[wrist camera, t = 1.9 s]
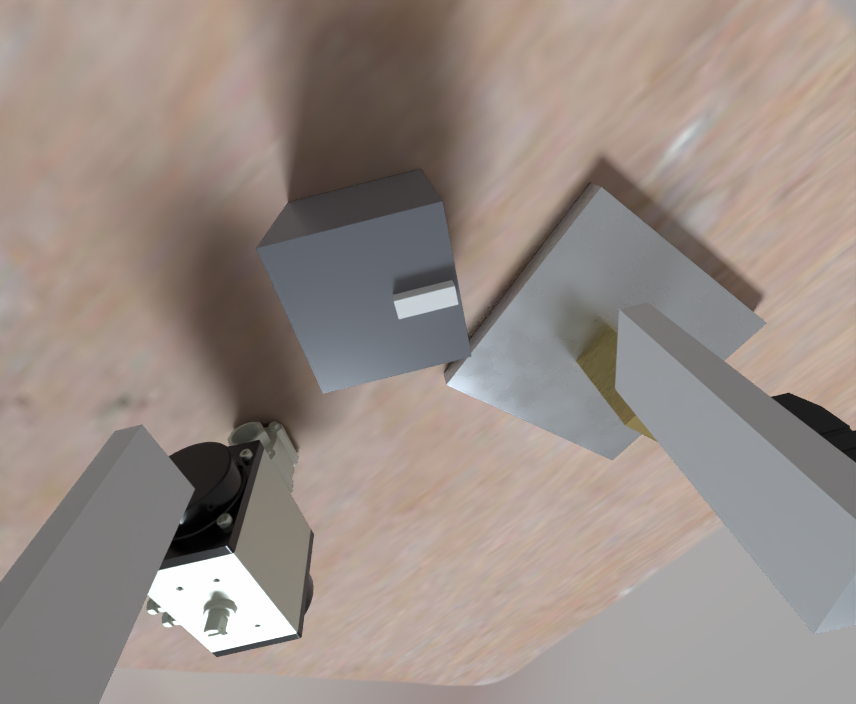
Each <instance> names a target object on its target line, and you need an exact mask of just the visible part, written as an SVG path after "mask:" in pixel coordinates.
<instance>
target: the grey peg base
mask: <svg viewBox="0 0 856 704" xmlns="http://www.w3.org/2000/svg"><path fill="white" fill-rule="evenodd" d="M646 302H648V303H649V304H651V305H652V306H653V307H655V308H656V309H657V310H658V311H660V312H661V313H662V314H664V315H665V316H666V317H668V318H669V319H670V320H671V321H673V322H674V323H675V324H677V325H678V326H679V327H681V328H682V329H683V330H684V331H686V332H687V333H688V334H690V335H691V336H692V337H693V338H695V339H696V340H697V341H699V342H700V343H701V344H703V345H704V346H705V347H706V348H708V349H709V350H710V351H712V352H713V353H714V354H715V355H717V356H718V357H719V358H721V359H722V360H723V361H725V360H726V359H727V358H728V357H729V356H730V355H731V354H732V353H734V352H735V351H736V350H737V349H738V348H739V347H740V346H741V345H743V344H744V343H745V342H746V341H747V340H748V339H749V338H750V337H752V336H753V335H754V334H755V333H756V332H757V331H758V330H759V329H761V328H762V327H763V326H764V325H765V324H766V322H765V321H764V320H762V319H761V318H760V317H759V316H758V315H756V314H755V313H754V312H753V311H752V310H750V309H749V308H748V307H747V306H745V305H744V304H743V303H742V302H741V301H739V300H738V299H737V298H736V297H735V296H733V295H732V294H731V293H730V292H728V291H727V290H726V289H725V288H724V287H722V286H721V285H720V284H719V283H718V282H716V281H715V280H714V279H713V278H711V277H710V276H709V275H708V274H707V273H705V272H704V271H703V270H702V269H701V268H699V267H698V266H697V265H696V264H694V263H693V262H692V261H691V260H690V259H688V258H687V257H686V256H685V255H684V254H682V253H681V252H680V251H679V250H677V249H676V248H675V247H674V246H673V245H671V244H670V243H669V242H668V241H667V240H665V239H664V238H663V237H662V236H661V235H659V234H658V233H657V232H656V231H654V230H653V229H652V228H651V227H650V226H648V225H647V224H646V223H645V222H644V221H642V220H641V219H640V218H639V217H637V216H636V215H635V214H634V213H633V212H631V211H630V210H629V209H628V208H627V207H625V206H624V205H623V204H622V203H620V202H619V201H618V200H617V199H616V198H614V197H613V196H612V195H611V194H610V193H608V192H607V191H606V190H605V189H603V188H602V187H601V186H598V185H596V184H594V183H591V182H590V184H589V185H588V186H587V188H586V189H585V190H584V192H583V193H582V194H581V195H580V197H579V198H578V199H577V201H576V202H575V203H574V205H573V206H572V207H571V209H570V210H569V211H568V212H567V214H566V215H565V216H564V218H563V219H562V220H561V222H560V223H559V224H558V225H557V227H556V228H555V229H554V231H553V232H552V233H551V235H550V236H549V237H548V238H547V240H546V241H545V242H544V244H543V245H542V246H541V248H540V249H539V250H538V252H537V253H536V254H535V255H534V257H533V258H532V259H531V261H530V262H529V263H528V265H527V266H526V267H525V268H524V270H523V271H522V272H521V274H520V275H519V276H518V278H517V279H516V280H515V281H514V283H513V284H512V285H511V287H510V288H509V289H508V291H507V292H506V293H505V295H504V296H503V297H502V298H501V300H500V301H499V302H498V304H497V305H496V306H495V308H494V309H493V310H492V311H491V313H490V314H489V315H488V317H487V318H486V319H485V321H484V322H483V323H482V324H481V326H480V327H479V328H478V330H477V331H476V332H475V334H474V335H473V336H472V338H471V339H470V340H469V345H470V350H471V356H472V357H468V358H464V359H460V360H456V361H453V362H452V364H451V365H450V366H449V367H448V369H447V370H446V371H445V373H444V378H445V381H446V385H448V386H450V387H452V388H454V389H457V390H459V391H461V392H463V393H465V394H468V395H470V396H472V397H474V398H476V399H479V400H481V401H483V402H485V403H487V404H490V405H492V406H494V407H496V408H498V409H501V410H503V411H505V412H507V413H509V414H512V415H514V416H516V417H518V418H520V419H523V420H525V421H527V422H529V423H531V424H534V425H536V426H538V427H540V428H542V429H545V430H547V431H549V432H551V433H553V434H556V435H558V436H560V437H562V438H564V439H567V440H569V441H571V442H573V443H575V444H578V445H580V446H582V447H584V448H586V449H589V450H591V451H593V452H595V453H597V454H600V455H602V456H604V457H606V458H608V459H611V460H614V459H615V458H616V457H617V456H618V455H619V454H620V453H621V452H622V451H624V450H625V449H626V448H627V447H628V446H629V445H630V444H631V443H633V442H634V441H635V440H636V439H637V438H638V437H639V436H640V435H642V434H643V435H645V436H647V437H649V438H651V439H653V440H655V441H657V440H656V439H655V438H654V437H653V435H652V434H651V433H650V432H649V430H648V429H647V428H646V427H645V425H644V424H643V423H642V422H641V421H640V419H639V418H638V417H637V416H636V414H635V413H634V412H633V411H632V409H631V408H630V407H629V406H628V404H627V403H626V402H625V401H624V400H623V398H622V397H621V396H620V395H619V393H618V392H617V391H616V390H615V379H616V359H617V340H618V320H619V309H621V308H625V307H630V306H634V305H638V304H642V303H646Z"/></svg>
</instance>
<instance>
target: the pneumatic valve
mask: <svg viewBox="0 0 856 704" xmlns="http://www.w3.org/2000/svg"><path fill="white" fill-rule="evenodd" d="M228 443H229V445H230V446H228V447H227V446H225V445H223V444H221V443H217V442H204V443H199V444H195V445H192V446H189V447H186V448H184V449H182V450H180V451H178V452H176V453H174V454H172V455H170V456H169V458H170V459H171V460H172V462H173V463H174V464H175V465H176V466H177V468H178V469H179V470H180V471H181V472H182V474H183V475H184V476H185V477H186V479H187V480H188V481H189V482H190V483H191V485H192V486H193V487H194V488H195V490H194V492H193V494H192V497H191V499H190V501H189V503H188V506H187V508H186V510H185V512H184V514H183V517H182V519H181V521H180V523H179V526H178V528H177V530H176V532H175V535H174V537H173V539H172V541H171V543H170V546H169V548H168V550H167V552H166V555H165V557H164V559H163V561H162V564H161V566H160V568H159V570H158V572H157V575H156V577H155V579H154V581H153V584H152V586H151V588H150V590H149V593H148V596H149V597H150V598H149V600H148V602H147V611H148V613H150V614H158V612H159V611H160V612H164V613H163V616H162V624H163V625H164V626H165V627H172V626H173V625H174V624H175V625H181V626H182V627H184V628H185V629H186V630H187V631H188V632H189V633H190V634H191V635H193V636H194V637H195V638H196V639H197V640H198V641H199V642H200V643H202V644H203V645H204V646H205V647H206V648H207V649H208V650H209V651H211V652H212V653H213V654H214V655H215V656H216V657H219V656H224V655H228V654H233V653H237V652H242V651H246V650H250V649H255V648H259V647H264V646H268V645H273V644H277V643H281V642H286V641H290V640H295V639H299V638H301V637H302V630H303V622H304V615H305V613H306V612H307V610H308V608H309V606H310V603H311V600H312V596H313V580H312V578H311V575H310V574H309V571H310V563H311V554H312V546H313V538H314V533H313V532H312V530H311V528H310V527H309V525H308V523H307V521H306V520H305V518H304V516H303V514H302V513H301V511H300V509H299V507H298V506H297V504H296V502H295V500H294V499H293V497H292V495H291V492H292V491H293V490H292V489H293V486H294V485H293V480H292V477H293V473H294V466H295V465H296V464H297V463H298V459H299V456H298V454H297V452H296V450H295V448H294V447H293V445H292V443H291V441H290V439H289V437H288V435H287V433H286V431H285V429H284V427H283V425H282V424H281V423H277V422H276V421H275V422H271V423H270V424H269V427H265V428H263V426H262V425H261V423H260V422H248V423H245V424H243V425H241V426H239V427H238V428H236V429H235V430H234V431H233V432H232V433H231V434H230V436H229V438H228Z"/></svg>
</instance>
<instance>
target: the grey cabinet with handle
mask: <svg viewBox="0 0 856 704" xmlns="http://www.w3.org/2000/svg"><path fill="white" fill-rule="evenodd" d="M256 250H257V252H258V254H259V256H260V259H261V261H262V263H263V265H264V267H265V269H266V272H267V274H268V276H269V278H270V280H271V282H272V285H273V287H274V289H275V291H276V293H277V295H278V297H279V300H280V302H281V304H282V306H283V308H284V310H285V313H286V315H287V317H288V319H289V321H290V323H291V326H292V328H293V330H294V332H295V334H296V336H297V339H298V341H299V343H300V345H301V347H302V349H303V352H304V354H305V356H306V358H307V360H308V362H309V365H310V367H311V369H312V371H313V373H314V375H315V378H316V380H317V382H318V384H319V386H320V388H321V391H322V393H327V392H332V391H336V390H340V389H344V388H348V387H352V386H356V385H360V384H364V383H368V382H372V381H376V380H380V379H384V378H388V377H392V376H396V375H400V374H404V373H408V372H412V371H416V370H420V369H424V368H428V367H432V366H436V365H440V364H444V363H448V362H452V361H456V360H460V359H464V358H468V357H472V356H471V350H470V345H469V340H468V334H467V329H466V324H465V318H464V313H463V307H462V302H461V297H460V291H459V286H458V281H457V275H456V270H455V264H454V259H453V254H452V248H451V243H450V238H449V232H448V227H447V222H446V216H445V211H444V205H443V201H442V199H441V198H440V196H439V195H438V193H437V192H436V191H435V189H434V188H433V186H432V185H431V183H430V182H429V180H428V179H427V177H426V176H425V174H424V173H423V171H422V170H421V169H418V170H414V171H410V172H406V173H402V174H398V175H394V176H391V177H387V178H383V179H379V180H375V181H371V182H367V183H363V184H359V185H355V186H351V187H347V188H343V189H339V190H335V191H332V192H328V193H324V194H320V195H316V196H312V197H308V198H304V199H300V200H296V201H292V202H288V203H287V204H286V206H285V207H284V209H283V210H282V212H281V213H280V215H279V216H278V217H277V219H276V220H275V222H274V223H273V225H272V226H271V228H270V229H269V230H268V232H267V233H266V235H265V236H264V238H263V239H262V241H261V242H260V243H259V245H258V246H257V248H256Z"/></svg>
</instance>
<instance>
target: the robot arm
mask: <svg viewBox="0 0 856 704" xmlns="http://www.w3.org/2000/svg"><path fill="white" fill-rule="evenodd" d="M615 390H616V391H617V392H618V393H619V395H620V396H621V397H622V398H623V400H624V401H625V402H626V403H627V404H628V406H629V407H630V408H631V409H632V411H633V412H634V413H635V414H636V416H637V417H638V418H639V419H640V421H641V422H642V423H643V424H644V425H645V427H646V428H647V429H648V430H649V432H650V433H651V434H652V435H653V437H654V438H655V439H656V440H657V442H658V443H659V444H660V445H661V446H662V448H663V449H664V450H665V451H666V453H667V454H668V455H669V456H670V458H671V459H672V460H673V461H674V463H675V464H676V465H677V466H678V467H679V469H680V470H681V471H682V472H683V474H684V475H685V476H686V477H687V479H688V480H689V481H690V482H691V484H692V485H693V486H694V487H695V488H696V490H697V491H698V492H699V493H700V495H701V496H702V497H703V498H704V500H705V501H706V502H707V503H708V505H709V506H710V507H711V508H712V510H713V511H714V512H715V513H716V514H717V516H718V517H719V518H720V519H721V521H722V522H723V523H724V524H725V526H726V527H727V528H728V529H729V530H730V532H731V533H732V534H733V535H734V537H735V538H736V539H737V540H738V542H739V543H740V544H741V545H742V547H743V548H744V549H745V550H746V552H747V553H748V554H749V555H750V556H751V558H752V559H753V560H754V561H755V563H756V564H757V565H758V566H759V568H760V569H761V570H762V571H763V573H764V574H765V575H766V576H767V577H768V579H769V580H770V581H771V582H772V584H773V585H774V586H775V587H776V589H777V590H778V591H779V592H780V594H781V595H782V596H783V597H784V598H785V600H786V601H787V602H788V603H789V605H790V606H791V607H792V608H793V610H794V611H795V612H796V613H797V615H798V616H799V617H800V618H801V620H802V621H803V622H804V623H805V624H806V626H807V627H808V628H809V629H810V631H811V632H812V633H813V634H818V633H823V632H827V631H832V630H836V629H841V628H845V627H850V626H854V625H856V430H855V431H852V430H851V429H850V426H849V425H847V424H846V423H844V422H843V421H842V420H840V419H839V418H837V417H836V416H834V415H833V414H832V413H830V412H829V411H827V410H826V409H825V408H823V407H821V406H819V405H817V404H814V403H812V402H810V401H807V400H805V399H802V398H800V397H798V396H795V395H793V394H791V393H786V394H781V395H777V396H773V397H770V396H769V395H767V394H766V393H765V392H763V391H762V390H761V389H760V388H758V387H757V386H756V385H754V384H753V383H752V382H750V381H749V380H748V379H747V378H745V377H744V376H743V375H741V374H740V373H739V372H738V371H736V370H735V369H734V368H732V367H731V366H730V365H728V364H727V363H726V362H725V361H723V360H722V359H721V358H719V357H718V356H717V355H715V354H714V353H713V352H712V351H710V350H709V349H708V348H706V347H705V346H704V345H703V344H701V343H700V342H699V341H697V340H696V339H695V338H693V337H692V336H691V335H690V334H688V333H687V332H686V331H684V330H683V329H682V328H681V327H679V326H678V325H677V324H675V323H674V322H673V321H671V320H670V319H669V318H668V317H666V316H665V315H664V314H662V313H661V312H660V311H658V310H657V309H656V308H655V307H653V306H652V305H651V304H649V303H648V302H646V303H642V304H638V305H634V306H630V307H625V308H621V309H619V320H618V340H617V359H616V379H615ZM194 490H195V488H194V487H193V486H192V485H191V483H190V482H189V481H188V480H187V479H186V477H185V476H184V475H183V474H182V472H181V471H180V470H179V469H178V468H177V466H176V465H175V464H174V463H173V462H172V460H171V459H170V458H169V457H168V455H167V454H166V453H165V452H164V451H163V449H162V448H161V447H160V446H159V444H158V443H157V442H156V441H155V440H154V438H153V437H152V436H151V435H150V433H149V432H148V431H147V430H146V429H145V427H144V426H143V425H138V426H134V427H130V428H126V429H122V430H117V431H115V432H114V433H113V434H112V436H111V437H110V438H109V440H108V441H107V442H106V444H105V445H104V446H103V448H102V449H101V450H100V452H99V453H98V454H97V456H96V457H95V458H94V459H93V461H92V462H91V463H90V465H89V466H88V467H87V469H86V470H85V471H84V473H83V474H82V475H81V477H80V478H79V479H78V481H77V482H76V483H75V485H74V486H73V487H72V488H71V490H70V491H69V492H68V494H67V495H66V496H65V498H64V499H63V500H62V502H61V503H60V504H59V506H58V507H57V508H56V510H55V511H54V512H53V513H52V515H51V516H50V517H49V519H48V520H47V521H46V523H45V524H44V525H43V527H42V528H41V529H40V531H39V532H38V533H37V535H36V536H35V537H34V539H33V540H32V541H31V542H30V544H29V545H28V546H27V548H26V549H25V550H24V552H23V553H22V554H21V556H20V557H19V558H18V560H17V561H16V562H15V564H14V565H13V566H12V567H11V569H10V570H9V571H8V573H7V574H6V575H5V577H4V578H3V579H2V581H1V582H0V704H99V702H100V700H101V697H102V695H103V693H104V691H105V688H106V686H107V684H108V682H109V680H110V677H111V675H112V673H113V671H114V668H115V666H116V664H117V662H118V659H119V657H120V655H121V653H122V651H123V648H124V646H125V644H126V642H127V639H128V637H129V635H130V633H131V630H132V628H133V626H134V624H135V622H136V619H137V617H138V615H139V613H140V610H141V608H142V606H143V604H144V601H145V599H146V597H147V595H148V593H149V590H150V588H151V586H152V584H153V581H154V579H155V577H156V575H157V572H158V570H159V568H160V566H161V564H162V561H163V559H164V557H165V555H166V552H167V550H168V548H169V546H170V543H171V541H172V539H173V537H174V535H175V532H176V530H177V528H178V526H179V523H180V521H181V519H182V517H183V514H184V512H185V510H186V508H187V506H188V503H189V501H190V499H191V497H192V494H193V492H194Z"/></svg>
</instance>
